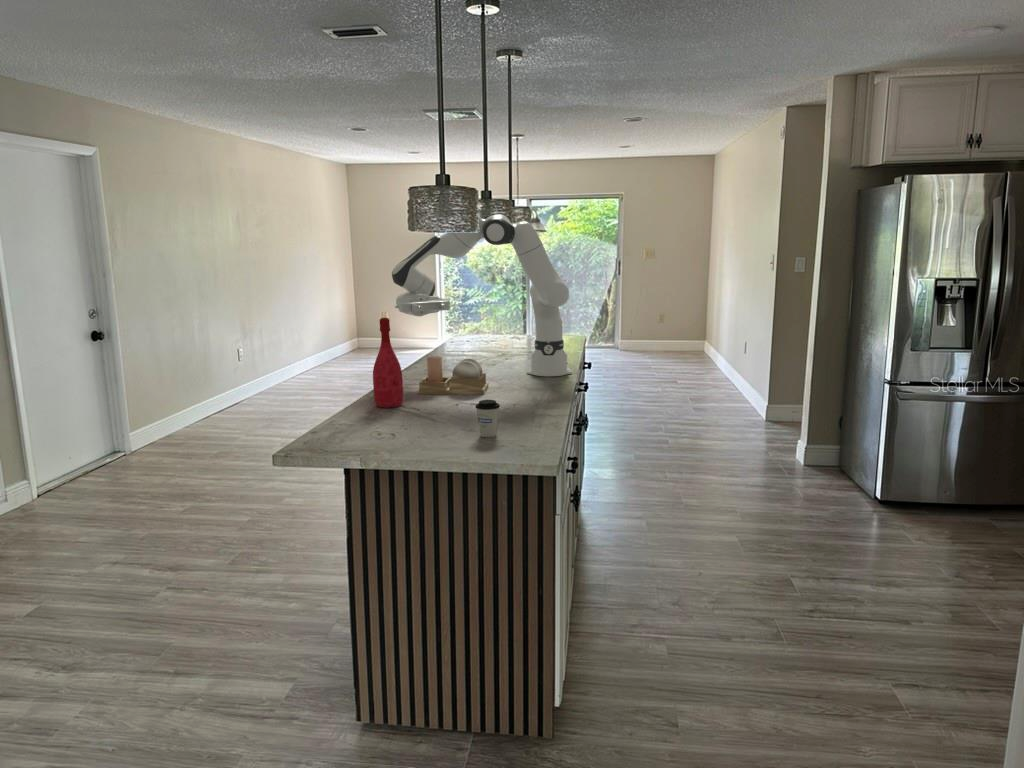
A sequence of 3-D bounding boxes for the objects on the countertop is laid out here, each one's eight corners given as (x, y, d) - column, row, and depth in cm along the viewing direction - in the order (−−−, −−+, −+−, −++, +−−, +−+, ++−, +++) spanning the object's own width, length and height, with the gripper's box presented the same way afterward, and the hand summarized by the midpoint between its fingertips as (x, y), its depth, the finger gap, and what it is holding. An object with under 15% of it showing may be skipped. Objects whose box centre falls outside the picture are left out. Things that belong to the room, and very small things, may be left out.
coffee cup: (487, 431, 200) (486, 397, 198) (505, 435, 195) (504, 400, 193) (471, 436, 194) (470, 402, 192) (489, 440, 190) (488, 405, 188)
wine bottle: (369, 407, 231) (363, 319, 225) (383, 401, 240) (378, 315, 234) (395, 409, 228) (390, 319, 222) (408, 402, 237) (404, 316, 231)
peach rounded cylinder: (428, 385, 259) (427, 356, 257) (443, 384, 259) (442, 356, 257) (427, 388, 254) (426, 358, 251) (442, 387, 254) (441, 358, 251)
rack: (426, 386, 263) (425, 357, 261) (488, 386, 261) (487, 357, 259) (418, 394, 251) (417, 363, 248) (483, 394, 248) (482, 363, 246)
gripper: (392, 298, 267) (406, 300, 256) (440, 295, 277) (455, 297, 266) (393, 314, 269) (406, 317, 257) (441, 311, 279) (456, 314, 267)
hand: (432, 307), depth 261 cm, fingers open, 8 cm apart
